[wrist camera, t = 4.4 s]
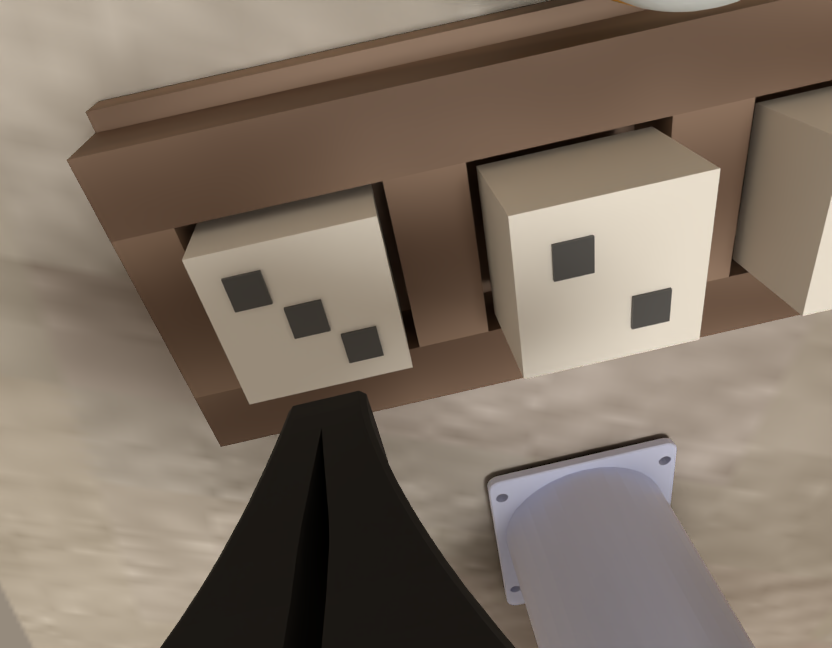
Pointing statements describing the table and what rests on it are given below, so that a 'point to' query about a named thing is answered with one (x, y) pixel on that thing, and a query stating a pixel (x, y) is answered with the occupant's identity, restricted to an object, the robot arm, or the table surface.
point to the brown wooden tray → (436, 164)
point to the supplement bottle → (676, 4)
